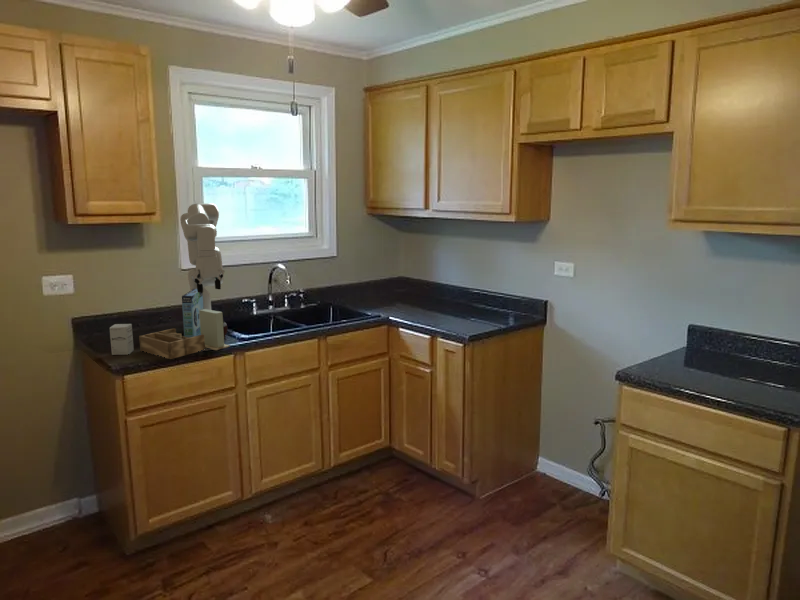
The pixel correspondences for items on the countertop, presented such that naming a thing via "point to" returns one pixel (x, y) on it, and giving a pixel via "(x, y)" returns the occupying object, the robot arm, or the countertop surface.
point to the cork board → (216, 347)
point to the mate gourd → (225, 329)
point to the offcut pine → (175, 335)
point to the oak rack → (170, 344)
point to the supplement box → (121, 339)
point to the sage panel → (212, 327)
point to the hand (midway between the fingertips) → (209, 290)
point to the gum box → (192, 312)
